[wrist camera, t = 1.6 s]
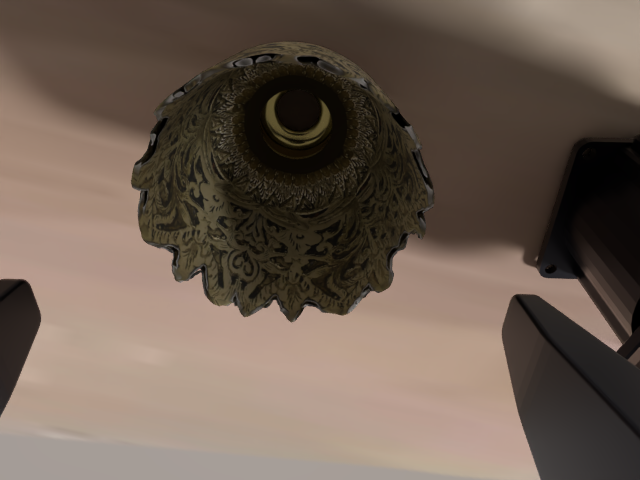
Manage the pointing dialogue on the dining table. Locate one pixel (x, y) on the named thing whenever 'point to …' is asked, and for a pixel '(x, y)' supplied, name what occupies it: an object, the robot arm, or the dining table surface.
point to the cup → (282, 183)
